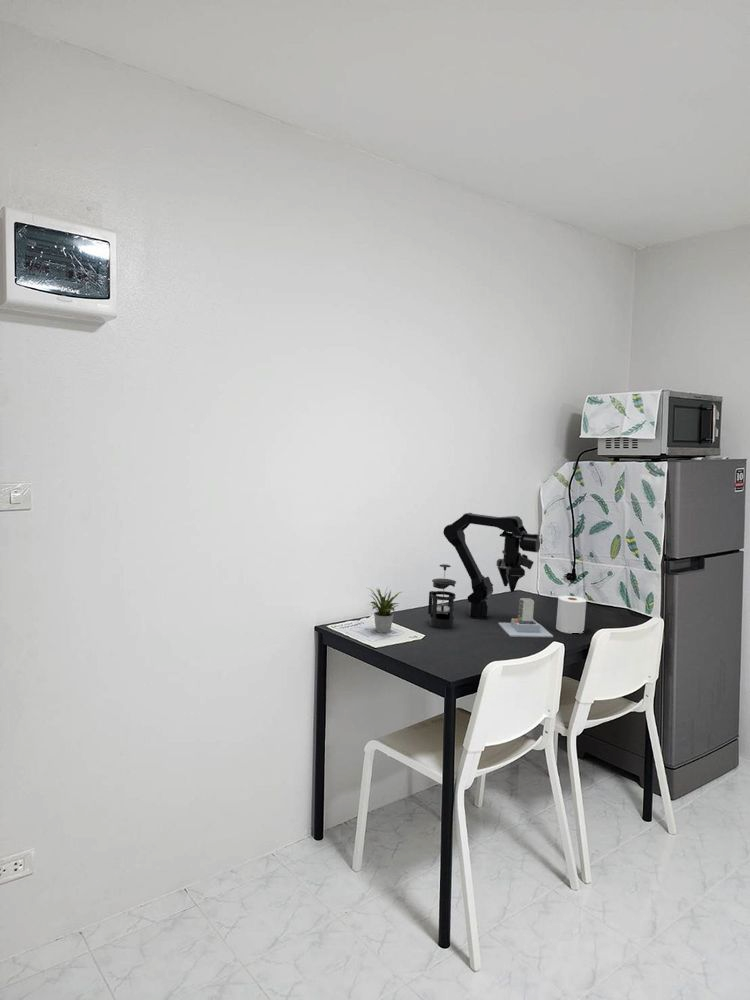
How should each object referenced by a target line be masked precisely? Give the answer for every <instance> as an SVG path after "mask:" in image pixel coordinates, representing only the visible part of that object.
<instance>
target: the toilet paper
mask: <svg viewBox="0 0 750 1000" xmlns="http://www.w3.org/2000/svg"><path fill="white" fill-rule="evenodd" d="M586 611H587V599H585V598H584V597H580V596H575V595H560V596H558V600H557V610H556V612H557V613H556V622H555V624H556V625H555V629H556V630H558V631H559V632H561V633H565V634H572V633H579V634H583V633H584V632H585V623H586ZM583 631H584V632H583Z"/></svg>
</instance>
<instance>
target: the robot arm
mask: <svg viewBox="0 0 750 1000" xmlns="http://www.w3.org/2000/svg"><path fill="white" fill-rule="evenodd" d="M471 524H472V525H479V526H484V527H485V526H486V527H492V528H493V527H494V528H497V529H500V530H502V532H501V533H500V534H499V537H501V538H504V545H503V550H502V554H503V558H498V559H497V560H496V568H497V570H498V572H499V575H500V577H501V581H502V584H503V586H504V587H508V586H509V587H508V588H509V589H510V590H509V591H510V593H514V592H515V589H516V587H517V584H518V582H519V581H520V579H521V578H523V577H524V576H526V575H525V574H526V569H524V568H523V567H525V568H527V569H528V570H531V569H532V567H533V564H534V561H533V560H531V559H529V557H528V555H526V554H525V553H524V554H522V553H521V552H520V550H522V551H524V552H528V553H529V552H531V553H537V554H538V553H539V552H540V550H541V549H540V548H541V539H540V534H539V533H532V534H531V533H528V532H527V530H526V528H525V526H524V524H523V520H522V518H521V517H520V516H518V515H510V516H493V515H486V514H477V513H473V512H466V513H464V514H463V515H462V516H461V517H459V518H457V519H456V520H455V521H454V522H453V523H451V524H448V525H446V526H444V528H443V535H444V537H445V539H447V541H448V543H450V545H451V546H453V548H454V549H455V550H456V553H457V554H458V556H459V558H460V560H461V563H462V564H463V566H464V568H465V570H466V573H467V574H468V577H469V578H470V583H471V584H470V585H471V590H472V593H470V594H469V595H468V596H467V601H468V612H467V615H468V616H469V617H470V619H487V618H488V617H487V616H488V609H489V608H488V607H489V605H488V604H487V601H488V600H489V597H490V596H492V594H494V593H493V592H494V587H493V586H494V584H493V583H492V582H491V579H490V577H489V576H486V577H485V576H484V575H483V574H482V572H481V571H480V568H479V566H478V565H477V562H476V561H475V559H474V557H473V554H472V552H471V551H470V549H469V547H468V545H467V543H466V535H465V532H464V531H465V530H466V529H467V528H468V527H469V526H470V525H471Z"/></svg>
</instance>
